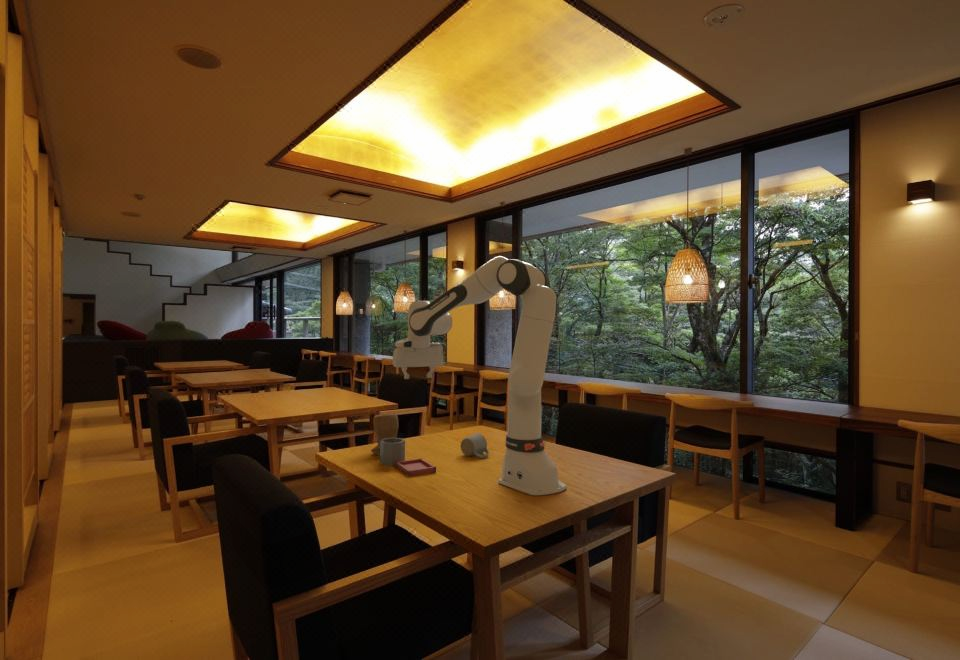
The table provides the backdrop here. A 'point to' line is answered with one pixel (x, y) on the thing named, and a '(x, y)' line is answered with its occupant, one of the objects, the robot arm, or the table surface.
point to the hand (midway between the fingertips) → (418, 378)
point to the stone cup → (385, 428)
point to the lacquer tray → (415, 467)
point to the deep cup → (392, 451)
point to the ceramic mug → (474, 446)
